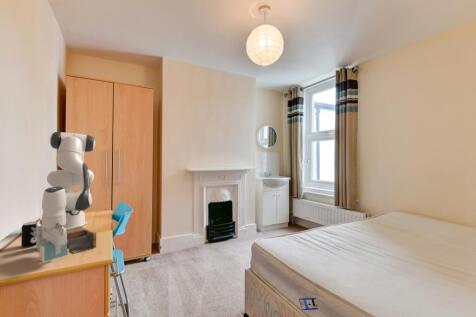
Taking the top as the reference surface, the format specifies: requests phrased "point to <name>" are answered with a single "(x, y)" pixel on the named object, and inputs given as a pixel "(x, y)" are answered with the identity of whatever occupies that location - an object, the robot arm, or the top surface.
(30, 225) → the beverage can
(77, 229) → the book stack with bookend
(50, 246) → the boxed book
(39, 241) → the supplement box
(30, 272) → the top surface
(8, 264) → the top surface
